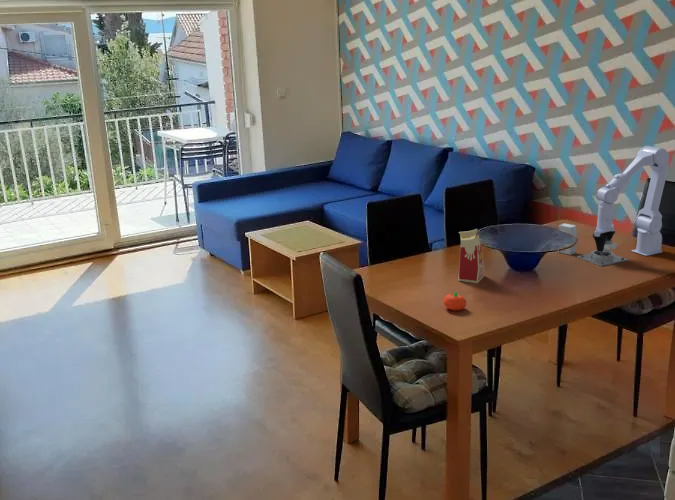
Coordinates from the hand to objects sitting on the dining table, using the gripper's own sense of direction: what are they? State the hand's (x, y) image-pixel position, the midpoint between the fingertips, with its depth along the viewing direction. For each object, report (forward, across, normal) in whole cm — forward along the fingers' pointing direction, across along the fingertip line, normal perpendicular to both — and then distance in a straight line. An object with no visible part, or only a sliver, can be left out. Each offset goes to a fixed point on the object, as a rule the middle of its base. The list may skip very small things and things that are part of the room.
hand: (602, 249), depth 289 cm
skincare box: (+4, 0, +15) cm, 16 cm away
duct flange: (+4, 0, 0) cm, 4 cm away
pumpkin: (+4, -81, +18) cm, 83 cm away
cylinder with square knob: (+2, 0, 0) cm, 2 cm away
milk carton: (+4, -51, +30) cm, 60 cm away
